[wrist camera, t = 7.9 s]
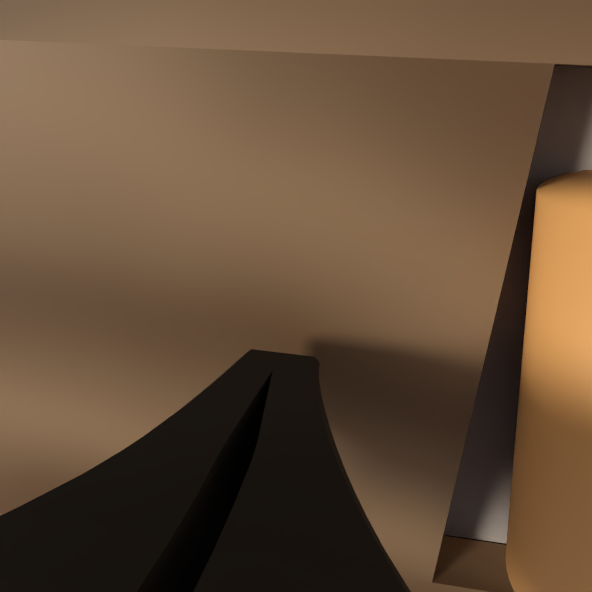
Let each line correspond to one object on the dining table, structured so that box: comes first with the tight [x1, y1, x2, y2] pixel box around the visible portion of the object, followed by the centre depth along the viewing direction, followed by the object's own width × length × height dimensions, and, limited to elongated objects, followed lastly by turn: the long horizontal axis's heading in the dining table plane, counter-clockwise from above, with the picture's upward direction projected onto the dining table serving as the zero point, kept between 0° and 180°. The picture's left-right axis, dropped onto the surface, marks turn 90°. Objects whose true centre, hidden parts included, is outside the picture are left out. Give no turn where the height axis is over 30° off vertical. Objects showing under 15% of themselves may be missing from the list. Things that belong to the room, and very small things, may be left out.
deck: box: [0, 0, 592, 592], centre depth 11 cm, size 18×24×2 cm
